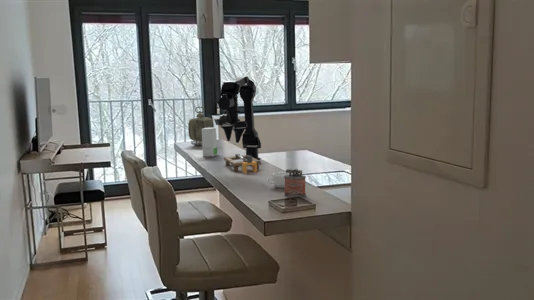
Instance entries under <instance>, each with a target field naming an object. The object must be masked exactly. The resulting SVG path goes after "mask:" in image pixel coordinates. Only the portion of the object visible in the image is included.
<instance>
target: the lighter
mask: <svg viewBox="0 0 534 300" xmlns="http://www.w3.org/2000/svg"><path fill="white" fill-rule="evenodd" d="M285 172H286V173H289V175H284V178H285V188H284V197H291V198H305V197H306V196H307V193H306V178H307V177H306V175H303V170H302V169H298V168H294V169H291V168H286V169H285ZM291 173H292V175H291Z"/></svg>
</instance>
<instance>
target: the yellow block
mask: <svg viewBox="0 0 534 300" xmlns="http://www.w3.org/2000/svg"><path fill="white" fill-rule="evenodd" d="M248 166H251V169H252V171H251V172H253V173H258V169H257V162H255V161H252V156H247V162H242V165H241V167H242V168H241V169H242V171H241V172H242V173H243V172H244V174H247V173H248Z"/></svg>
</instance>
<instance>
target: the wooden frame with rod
mask: <svg viewBox="0 0 534 300" xmlns="http://www.w3.org/2000/svg"><path fill="white" fill-rule="evenodd" d="M241 156H242V157H243V158H247V156H250V155H246V154H245V155H241ZM237 160H238V161H237ZM223 161H225V166H230V165H232V166H233V171H234V172H238V171H239V166H242V162H243V160H241V159H240V158H238V157H235V155H232V156H223ZM252 161H255V162H257V170H259V169H260V165H259V164H261V160H260V159H258V160H257V159H255V158H253V157H252Z"/></svg>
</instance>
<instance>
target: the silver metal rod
mask: <svg viewBox="0 0 534 300" xmlns="http://www.w3.org/2000/svg"><path fill="white" fill-rule="evenodd" d="M234 156H235V157H238V158H240V159H239V160H241V161H243V162H247V158H243V157H242V156H243V155H241V154H240V153H235V155H234Z"/></svg>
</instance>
